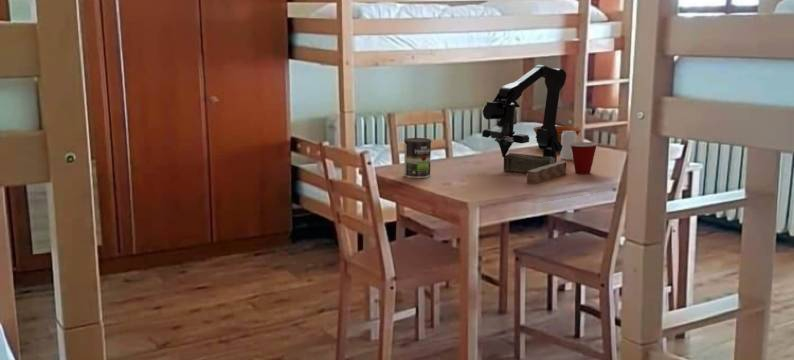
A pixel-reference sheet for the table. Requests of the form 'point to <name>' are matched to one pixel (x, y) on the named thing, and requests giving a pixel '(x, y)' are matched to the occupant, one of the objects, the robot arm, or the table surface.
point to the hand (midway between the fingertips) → (503, 157)
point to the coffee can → (417, 157)
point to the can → (568, 144)
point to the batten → (546, 172)
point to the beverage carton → (525, 162)
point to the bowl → (561, 130)
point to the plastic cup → (583, 156)
